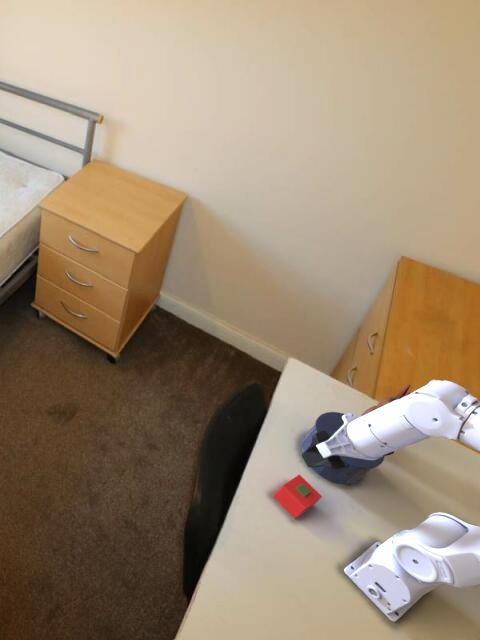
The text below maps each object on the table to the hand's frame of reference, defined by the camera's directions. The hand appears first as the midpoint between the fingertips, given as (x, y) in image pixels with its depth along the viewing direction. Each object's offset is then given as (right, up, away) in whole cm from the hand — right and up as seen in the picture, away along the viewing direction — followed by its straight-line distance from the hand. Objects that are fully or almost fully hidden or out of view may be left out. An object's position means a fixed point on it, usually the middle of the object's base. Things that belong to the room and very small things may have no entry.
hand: (324, 455), depth 87 cm
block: (-3, -10, +4) cm, 11 cm away
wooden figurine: (+18, -2, +14) cm, 23 cm away
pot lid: (+9, 0, +6) cm, 11 cm away
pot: (+8, -5, +11) cm, 14 cm away
